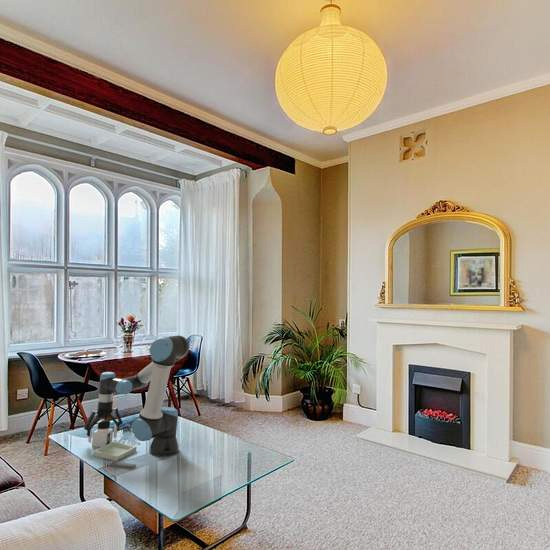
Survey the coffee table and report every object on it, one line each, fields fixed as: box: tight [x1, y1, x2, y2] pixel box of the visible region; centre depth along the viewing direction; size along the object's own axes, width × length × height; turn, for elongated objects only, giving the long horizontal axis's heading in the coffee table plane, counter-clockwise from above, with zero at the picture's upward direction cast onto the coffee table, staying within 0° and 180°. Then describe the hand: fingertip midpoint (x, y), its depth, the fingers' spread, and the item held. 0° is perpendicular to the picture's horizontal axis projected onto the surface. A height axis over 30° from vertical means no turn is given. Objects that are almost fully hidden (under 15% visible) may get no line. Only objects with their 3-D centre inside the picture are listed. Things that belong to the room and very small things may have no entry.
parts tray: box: [92, 440, 137, 462], centre depth 216 cm, size 15×15×2 cm
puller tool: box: [109, 461, 137, 470], centre depth 201 cm, size 12×2×2 cm, turn 86°
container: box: [91, 419, 114, 448], centre depth 226 cm, size 8×8×13 cm
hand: (102, 439), depth 226 cm, fingers open, 13 cm apart
